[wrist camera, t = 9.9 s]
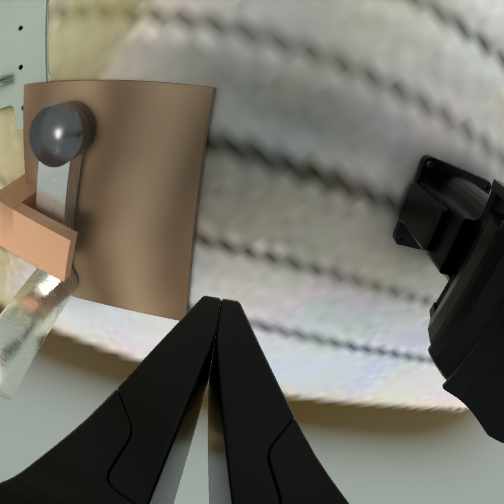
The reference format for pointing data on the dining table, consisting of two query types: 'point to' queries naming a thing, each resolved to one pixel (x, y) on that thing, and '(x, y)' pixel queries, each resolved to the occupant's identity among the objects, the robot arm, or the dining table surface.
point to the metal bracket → (22, 50)
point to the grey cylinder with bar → (59, 209)
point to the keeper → (34, 231)
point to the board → (133, 188)
